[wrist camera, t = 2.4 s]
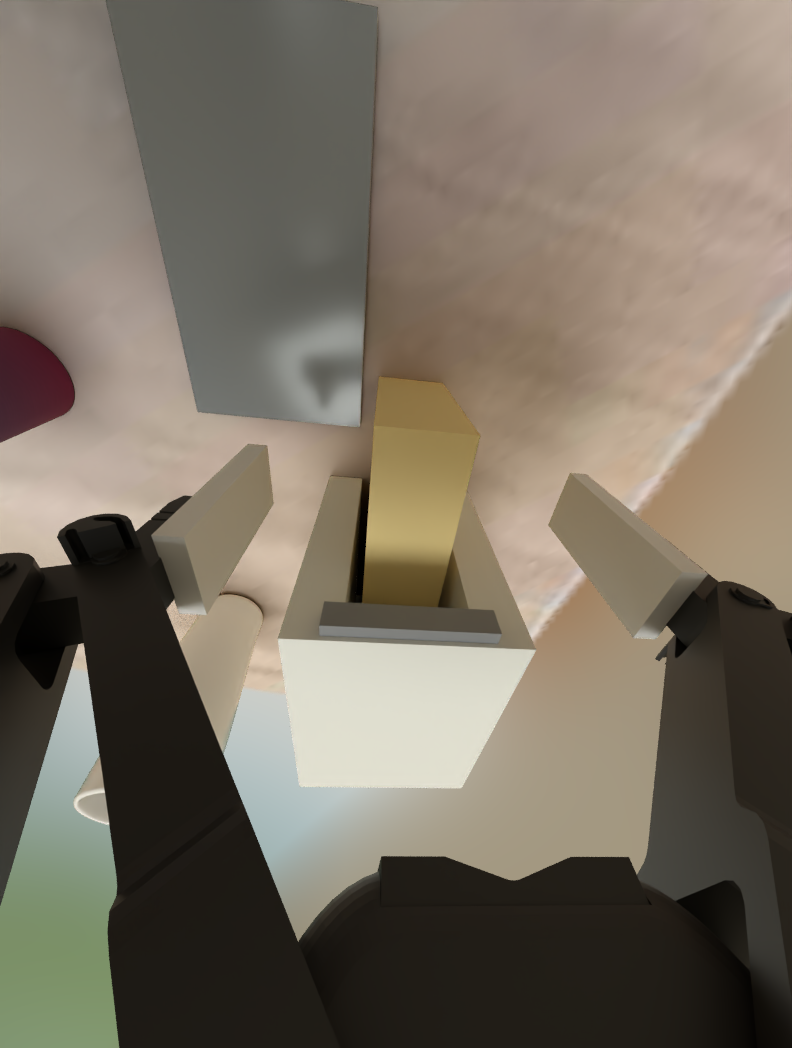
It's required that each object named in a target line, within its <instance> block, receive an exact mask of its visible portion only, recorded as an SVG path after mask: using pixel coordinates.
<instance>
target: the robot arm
mask: <svg viewBox="0 0 792 1048" xmlns="http://www.w3.org/2000/svg"><path fill="white" fill-rule="evenodd" d="M273 504H274V503H273V494H272V485H271V476H270V467H269V458H268V449H267V446H266V445H254V444H248V445H247V446H245V447H244V448H243V449H242V450H241V451H240V452H239V453H238V454H237V455H236V456H235V457H234V458H233V459H232V460H231V461H230V462H228V463H227V464H226V465H225V466H224V467H223V468H222V469H221V470H220V471H219V472H218V473H217V474H216V475H215V476H214V477H213V478H211V479H210V480H209V481H208V482H207V483H206V484H205V485H204V486H203V487H202V488H201V489H200V490H199V491H198V492H197V493H195V494H194V495H193V496H182V497H180V498H178V499H176V500H174V501H172V502H169V503H168V504H167V505H166V506H165V507H164V508H162V509H161V510H160V511H159V513H157V514H156V515H154V516H153V517H152V518H151V520H149V521H148V522H146V523H145V524H144V525H143V526H142V527H141V528H139V529H138V530H137V531H136V532H135V530H134V527H133V525H132V522H131V520H130V519H129V518H128V517H127V516H124V515H120V514H100V515H93V516H89V517H86V518H82V519H79V520H77V521H75V522H73V523H70V524H68V525H67V526H65V527H64V528H63V529H62V530H60V531H59V534H58V536H57V538H58V540H59V542H60V543H61V545H62V547H63V549H64V551H65V553H66V554H67V556H68V558H69V560H70V562H71V564H70V565H62V566H54V567H46V568H40V567H39V566H38V564H37V562H36V561H35V559H34V558H33V557H32V556H30V555H29V554H25V553H6V554H0V905H1V902H2V898H3V895H4V891H5V888H6V884H7V881H8V878H9V875H10V872H11V868H12V865H13V861H14V858H15V854H16V851H17V848H18V844H19V841H20V838H21V834H22V831H23V828H24V824H25V821H26V818H27V814H28V811H29V807H30V804H31V800H32V797H33V794H34V790H35V788H36V784H37V781H38V777H39V774H40V771H41V767H42V764H43V760H44V757H45V754H46V750H47V747H48V744H49V740H50V737H51V733H52V730H53V727H54V724H55V720H56V717H57V714H58V710H59V707H60V704H61V700H62V697H63V693H64V690H65V686H66V683H67V680H68V677H69V673H70V670H71V667H72V663H73V660H74V656H75V653H76V650H77V646H78V644H81V643H84V648H85V655H86V662H87V669H88V677H89V684H90V691H91V697H92V705H93V711H94V719H95V726H96V733H97V740H98V747H99V754H100V762H101V769H102V776H103V783H104V790H105V797H106V804H107V811H108V818H109V826H110V833H111V840H112V847H113V854H114V861H115V868H116V876H117V896H116V899H115V901H114V903H113V905H112V907H111V909H110V911H109V921H108V945H109V960H110V969H111V978H112V986H113V995H114V1004H115V1012H116V1021H117V1031H118V1040H119V1048H792V613H788V612H785V611H781V610H778V609H777V608H776V607H775V605H774V604H773V603H772V602H771V601H770V600H769V599H767V598H766V597H765V596H763V595H762V594H760V593H758V592H757V591H755V590H753V589H750V588H748V587H746V586H744V585H741V584H737V583H734V582H728V581H722V582H718V581H717V580H715V579H714V578H713V577H711V575H709V574H708V573H707V572H706V571H704V570H703V569H702V568H701V567H700V566H698V565H697V564H696V563H695V562H693V561H692V560H691V559H690V558H688V557H687V556H686V555H685V554H683V553H682V552H681V551H679V550H678V548H676V547H675V546H674V545H673V544H671V543H670V542H669V541H667V540H666V539H665V538H664V537H662V536H661V535H660V534H659V533H657V532H656V531H655V530H654V529H653V528H651V527H650V526H649V525H648V524H647V523H645V522H644V521H643V520H642V519H640V518H639V517H638V516H637V515H635V514H634V513H633V512H632V511H631V510H629V509H628V508H627V507H626V506H624V505H623V504H622V503H621V502H620V501H618V500H617V499H616V498H615V497H613V496H612V495H611V494H610V493H609V492H607V491H606V490H605V489H604V488H602V487H601V486H600V485H599V484H598V483H596V482H595V481H594V480H593V479H591V478H590V477H589V476H588V475H587V474H576V473H570V474H569V477H568V479H567V481H566V484H565V486H564V489H563V491H562V493H561V496H560V498H559V501H558V503H557V505H556V508H555V510H554V513H553V515H552V517H551V520H550V522H549V527H550V528H551V529H552V531H553V532H554V533H555V535H556V536H557V537H558V539H559V540H560V541H561V543H562V544H563V545H564V547H565V548H566V549H567V551H568V552H569V553H570V554H571V556H572V557H573V558H574V560H575V561H576V562H577V564H578V565H579V566H580V568H581V569H582V570H583V572H584V573H585V574H586V576H587V577H588V578H589V580H590V581H591V582H592V584H593V585H594V586H595V588H596V589H597V590H598V592H599V593H600V594H601V596H602V597H603V598H604V599H605V601H606V602H607V604H608V605H609V606H610V607H611V609H612V610H613V612H614V613H615V614H616V616H617V617H618V618H619V620H620V621H621V622H622V624H623V625H624V626H625V627H626V629H627V630H628V631H629V633H630V634H631V635H632V637H633V638H645V639H656V638H657V637H658V636H659V634H660V633H661V632H662V631H663V629H664V628H665V627H666V626H668V627H669V628H670V629H671V631H672V632H673V633H674V634H675V635H674V636H673V637H672V639H671V640H670V641H669V642H668V643H667V644H666V646H665V647H664V648H663V649H662V650H661V652H660V653H659V654H658V655H657V657H656V660H658V661H660V660H661V658H663V657H667V660H666V663H665V664H666V669H665V679H664V690H663V701H662V710H661V720H660V731H659V741H658V751H657V761H656V771H655V781H654V791H653V801H652V802H653V803H652V812H651V823H650V833H649V843H648V850H647V855H646V858H645V862H644V864H643V865H642V867H641V869H640V871H639V873H638V874H637V875H636V872H635V870H634V868H633V866H632V863H631V861H630V859H629V857H570V858H567V859H565V860H563V861H561V862H559V863H556V864H554V865H552V866H549V867H547V868H545V869H543V870H540V871H538V872H536V873H533V874H531V875H529V876H527V877H525V878H522V879H520V880H516V881H511V880H507V879H504V878H501V877H499V876H496V875H493V874H491V873H488V872H485V871H482V870H480V869H477V868H474V867H471V866H468V865H466V864H463V863H461V862H458V861H455V860H452V859H450V858H447V857H402V856H401V857H400V856H399V857H397V856H396V857H395V856H394V857H393V856H391V857H390V856H388V857H387V856H383V857H381V860H380V864H379V868H378V872H376V873H374V874H372V875H369V876H367V877H364V878H362V879H361V880H359V881H357V882H356V883H354V884H352V885H351V886H349V887H347V888H346V889H345V890H344V891H342V892H341V893H340V894H339V895H338V896H336V897H335V898H334V899H333V900H332V901H331V902H330V903H329V904H328V905H327V906H326V907H325V908H324V909H323V910H322V911H321V912H320V914H319V915H318V916H317V917H316V918H315V920H314V921H313V922H312V923H311V925H310V926H309V927H308V929H307V930H306V932H305V933H304V934H303V935H302V937H301V939H300V940H299V942H298V941H297V938H296V936H295V933H294V931H293V928H292V926H291V923H290V921H289V918H288V915H287V913H286V910H285V908H284V905H283V903H282V901H281V898H280V895H279V893H278V890H277V888H276V885H275V883H274V880H273V878H272V875H271V873H270V870H269V868H268V865H267V862H266V860H265V858H264V855H263V853H262V850H261V847H260V845H259V842H258V840H257V837H256V835H255V832H254V830H253V827H252V825H251V822H250V820H249V817H248V815H247V812H246V810H245V807H244V805H243V802H242V800H241V798H240V795H239V793H238V790H237V788H236V785H235V783H234V780H233V778H232V775H231V772H230V770H229V767H228V765H227V762H226V760H225V758H224V755H223V752H222V750H221V747H220V745H219V742H218V740H217V737H216V735H215V732H214V730H213V727H212V725H211V722H210V719H209V717H208V714H207V712H206V709H205V707H204V704H203V702H202V699H201V697H200V694H199V692H198V689H197V687H196V684H195V682H194V679H193V677H192V674H191V672H190V669H189V666H188V664H187V661H186V659H185V656H184V654H183V651H182V649H181V646H180V644H179V641H178V639H177V636H176V634H175V631H174V629H173V626H172V624H171V621H170V619H169V616H168V613H167V611H166V609H167V608H168V607H169V605H170V604H171V603H172V601H173V600H175V603H176V606H177V609H178V611H179V614H196V615H207V614H208V612H209V611H210V609H211V607H212V606H213V604H214V602H215V601H216V599H217V597H218V596H219V594H220V592H221V591H222V589H223V587H224V586H225V584H226V582H227V581H228V579H229V577H230V575H231V574H232V572H233V570H234V569H235V567H236V565H237V564H238V562H239V560H240V559H241V557H242V555H243V554H244V552H245V550H246V549H247V547H248V545H249V544H250V542H251V540H252V539H253V537H254V535H255V534H256V532H257V530H258V529H259V527H260V525H261V524H262V522H263V520H264V519H265V517H266V515H267V514H268V512H269V510H270V509H271V507H272V505H273Z"/></svg>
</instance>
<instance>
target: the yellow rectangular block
mask: <svg viewBox="0 0 792 1048" xmlns="http://www.w3.org/2000/svg"><path fill="white" fill-rule="evenodd" d="M479 439H480V435H479V433H478V432H477V430H476V429H475V428H474V426H473V425H472V423H471V422H470V421H469V419H468V418H467V416H466V415H465V414H464V412H463V411H462V409H461V408H460V407H459V405H458V404H457V402H456V401H455V400H454V398H453V397H452V395H451V394H450V393H449V391H448V390H447V388H446V387H445V386H444V384H443V383H437V382H427V381H418V380H408V379H399V378H390V377H380V376H379V380H378V390H377V400H376V410H375V420H374V432H373V447H372V462H371V477H370V492H369V507H368V522H367V537H366V552H365V568H364V583H363V598H362V603H366V604H385V605H404V606H423V607H438V604H439V600H440V596H441V592H442V588H443V584H444V580H445V576H446V572H447V568H448V564H449V559H450V555H451V551H452V547H453V543H454V539H455V535H456V531H457V527H458V523H459V519H460V515H461V511H462V507H463V503H464V499H465V495H466V491H467V487H468V483H469V479H470V475H471V471H472V467H473V463H474V459H475V455H476V451H477V447H478V443H479Z"/></svg>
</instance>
